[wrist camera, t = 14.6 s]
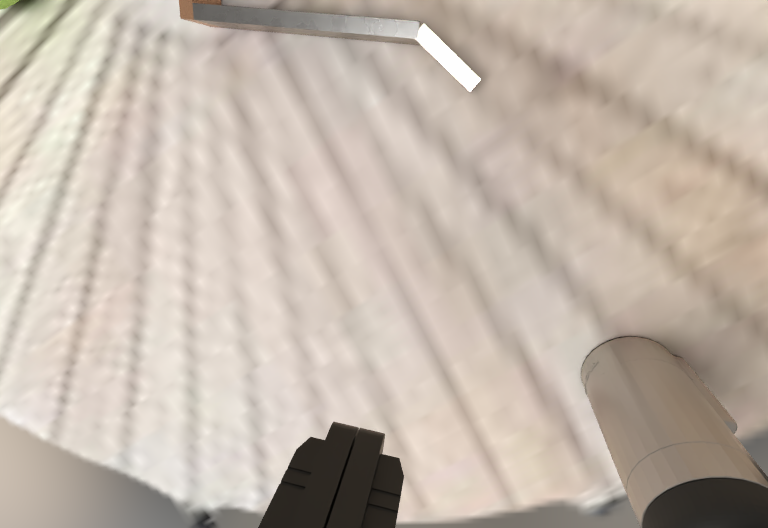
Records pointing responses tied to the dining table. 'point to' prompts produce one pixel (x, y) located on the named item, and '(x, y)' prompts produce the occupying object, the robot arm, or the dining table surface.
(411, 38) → the bay
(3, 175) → the dining table surface
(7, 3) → the teapot
